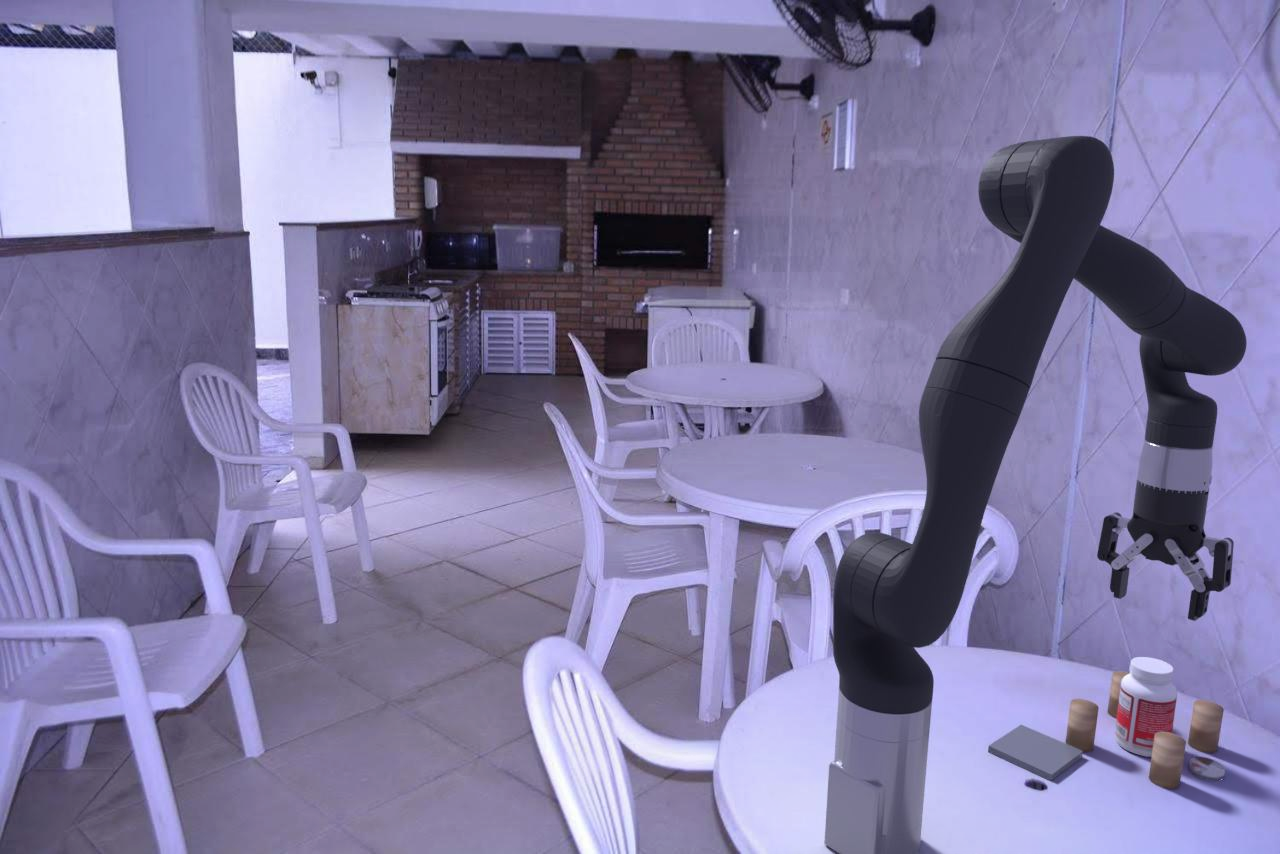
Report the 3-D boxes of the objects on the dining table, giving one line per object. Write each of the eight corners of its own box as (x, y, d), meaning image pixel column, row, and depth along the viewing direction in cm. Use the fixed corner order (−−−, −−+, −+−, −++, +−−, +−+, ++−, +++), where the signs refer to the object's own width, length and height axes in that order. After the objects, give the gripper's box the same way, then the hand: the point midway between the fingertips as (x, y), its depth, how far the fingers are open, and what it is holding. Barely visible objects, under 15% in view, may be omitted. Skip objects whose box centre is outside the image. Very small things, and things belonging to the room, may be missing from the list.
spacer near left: (1173, 792, 106) (1179, 749, 105) (1144, 779, 109) (1150, 737, 108) (1184, 782, 108) (1190, 739, 107) (1155, 770, 111) (1161, 728, 110)
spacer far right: (1128, 723, 121) (1133, 684, 120) (1103, 713, 124) (1108, 675, 123) (1138, 715, 123) (1143, 677, 122) (1113, 705, 126) (1118, 668, 125)
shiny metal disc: (1217, 786, 108) (1218, 777, 108) (1184, 772, 111) (1185, 763, 110) (1228, 775, 110) (1229, 766, 110) (1195, 762, 113) (1196, 753, 113)
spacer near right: (1086, 755, 114) (1091, 714, 113) (1060, 743, 116) (1065, 704, 115) (1098, 746, 116) (1103, 706, 115) (1072, 735, 118) (1077, 696, 117)
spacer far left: (1211, 756, 114) (1218, 715, 113) (1183, 745, 116) (1189, 705, 115) (1221, 747, 116) (1227, 707, 115) (1193, 736, 118) (1199, 697, 117)
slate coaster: (1050, 780, 108) (1051, 774, 108) (988, 751, 114) (988, 745, 114) (1082, 756, 113) (1082, 751, 113) (1020, 730, 119) (1021, 724, 119)
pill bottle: (1178, 749, 115) (1190, 668, 113) (1152, 764, 112) (1164, 681, 110) (1130, 727, 120) (1140, 649, 118) (1103, 741, 117) (1114, 661, 115)
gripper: (1098, 473, 112) (1083, 597, 116) (1229, 498, 102) (1209, 635, 105) (1124, 463, 117) (1109, 583, 120) (1252, 487, 106) (1232, 618, 110)
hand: (1155, 607), depth 113 cm, fingers open, 8 cm apart
